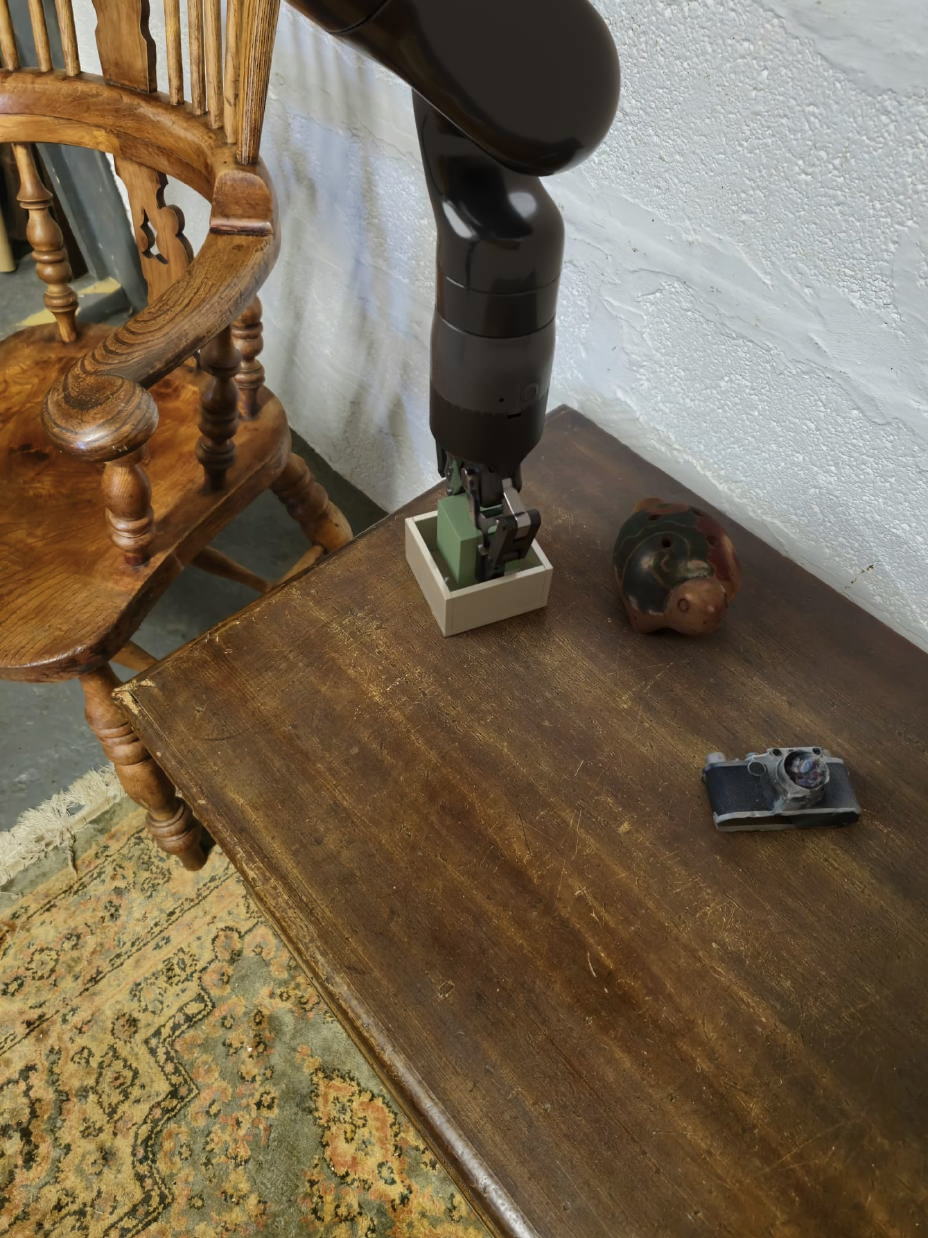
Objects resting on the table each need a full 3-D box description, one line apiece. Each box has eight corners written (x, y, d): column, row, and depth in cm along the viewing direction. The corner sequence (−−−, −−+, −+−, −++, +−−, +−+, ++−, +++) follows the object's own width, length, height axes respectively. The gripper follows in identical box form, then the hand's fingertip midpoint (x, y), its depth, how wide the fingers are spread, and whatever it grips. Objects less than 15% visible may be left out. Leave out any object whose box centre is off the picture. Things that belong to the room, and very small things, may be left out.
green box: (457, 586, 64) (460, 541, 60) (436, 545, 66) (437, 499, 63) (517, 568, 65) (524, 523, 61) (494, 529, 68) (499, 483, 64)
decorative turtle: (639, 687, 63) (655, 617, 57) (580, 547, 72) (588, 474, 66) (763, 665, 64) (791, 593, 58) (688, 530, 73) (705, 456, 67)
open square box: (444, 637, 65) (445, 600, 61) (405, 557, 70) (404, 518, 66) (546, 606, 67) (553, 568, 63) (502, 531, 72) (506, 491, 68)
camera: (690, 764, 59) (706, 733, 56) (834, 760, 60) (859, 730, 56) (706, 833, 56) (725, 805, 52) (858, 828, 56) (886, 801, 53)
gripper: (394, 317, 55) (399, 505, 69) (479, 457, 47) (466, 638, 61) (499, 297, 57) (484, 483, 71) (598, 427, 49) (560, 609, 63)
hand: (476, 554), depth 66 cm, fingers closed on green box, 4 cm apart
